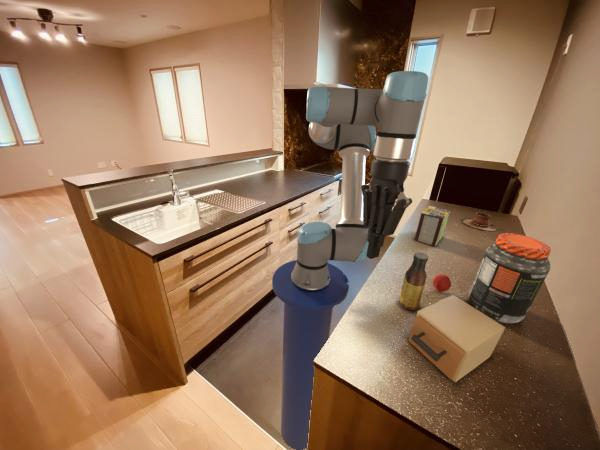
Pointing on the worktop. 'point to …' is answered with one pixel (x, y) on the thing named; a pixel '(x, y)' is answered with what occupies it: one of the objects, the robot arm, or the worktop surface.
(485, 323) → the cabinet
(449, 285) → the onion
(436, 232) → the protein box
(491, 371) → the worktop surface
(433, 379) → the worktop surface
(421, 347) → the drawer
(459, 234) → the worktop surface
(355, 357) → the worktop surface
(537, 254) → the supplement tub
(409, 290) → the sauce bottle
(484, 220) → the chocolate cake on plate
